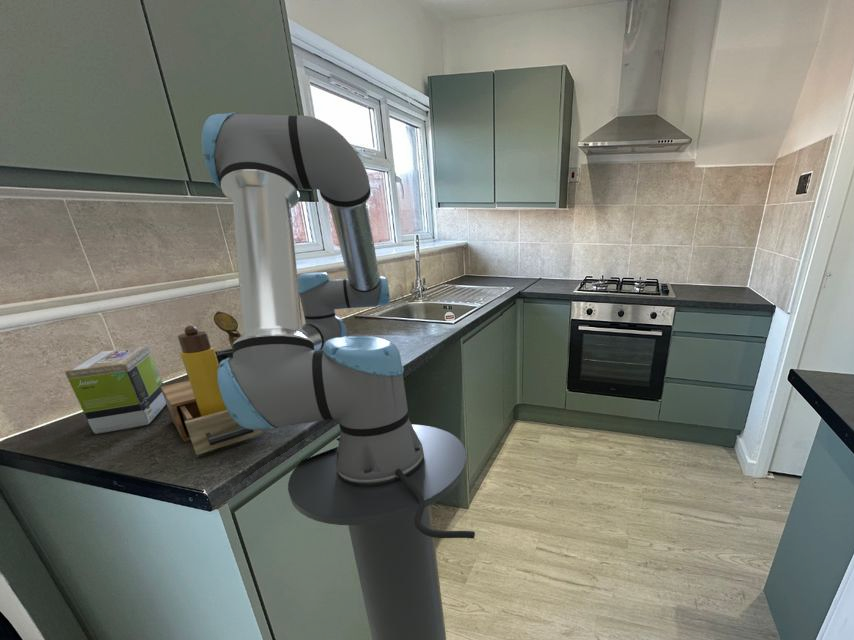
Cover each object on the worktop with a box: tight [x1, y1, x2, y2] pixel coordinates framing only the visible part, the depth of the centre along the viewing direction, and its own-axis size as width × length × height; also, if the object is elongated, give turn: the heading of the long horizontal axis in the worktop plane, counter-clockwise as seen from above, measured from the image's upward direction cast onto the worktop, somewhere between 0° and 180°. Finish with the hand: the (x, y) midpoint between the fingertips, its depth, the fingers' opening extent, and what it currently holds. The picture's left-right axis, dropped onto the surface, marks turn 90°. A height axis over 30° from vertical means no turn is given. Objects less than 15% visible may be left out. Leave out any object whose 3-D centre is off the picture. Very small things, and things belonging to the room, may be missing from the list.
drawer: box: [178, 402, 263, 456], centre depth 83 cm, size 18×11×7 cm, turn 45°
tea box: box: [64, 345, 167, 435], centre depth 94 cm, size 15×10×15 cm, turn 23°
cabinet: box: [161, 380, 196, 443], centre depth 91 cm, size 14×12×8 cm
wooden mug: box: [213, 310, 242, 349], centre depth 122 cm, size 9×14×18 cm, turn 70°
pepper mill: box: [177, 325, 227, 417], centre depth 80 cm, size 5×5×22 cm
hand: (219, 371), depth 83 cm, fingers open, 13 cm apart
